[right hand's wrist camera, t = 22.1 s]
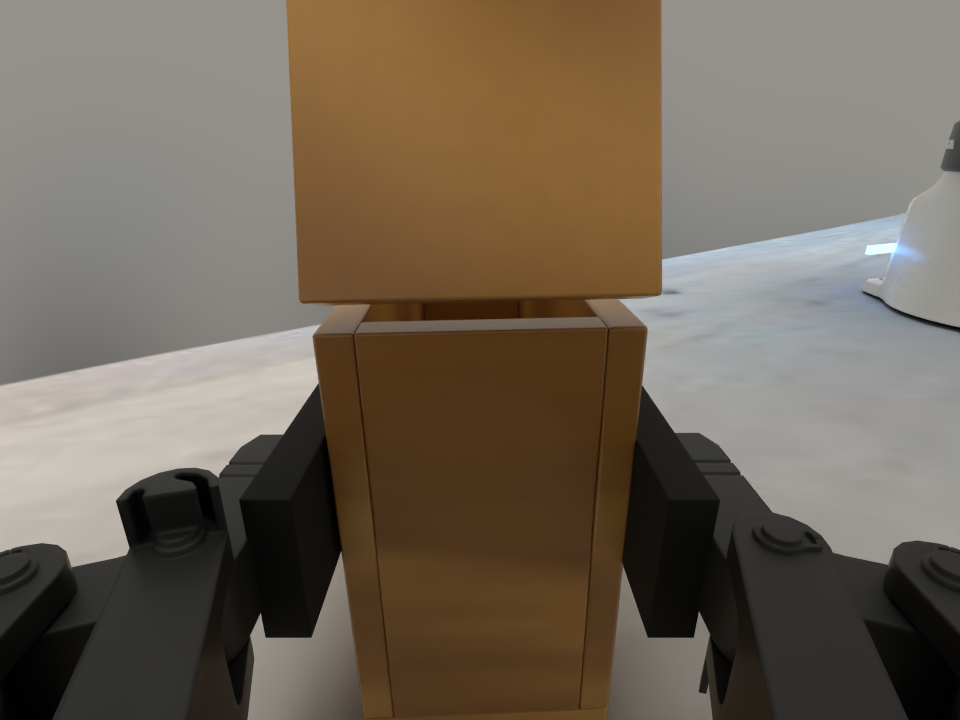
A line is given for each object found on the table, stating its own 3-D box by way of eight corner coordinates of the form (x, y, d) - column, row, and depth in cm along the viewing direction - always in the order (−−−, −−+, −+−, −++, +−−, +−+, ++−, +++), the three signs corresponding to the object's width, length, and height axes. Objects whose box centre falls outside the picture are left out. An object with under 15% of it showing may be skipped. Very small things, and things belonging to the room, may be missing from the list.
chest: (417, 421, 26) (404, 218, 23) (529, 418, 26) (533, 215, 23) (365, 739, 12) (311, 334, 9) (606, 729, 12) (649, 326, 9)
